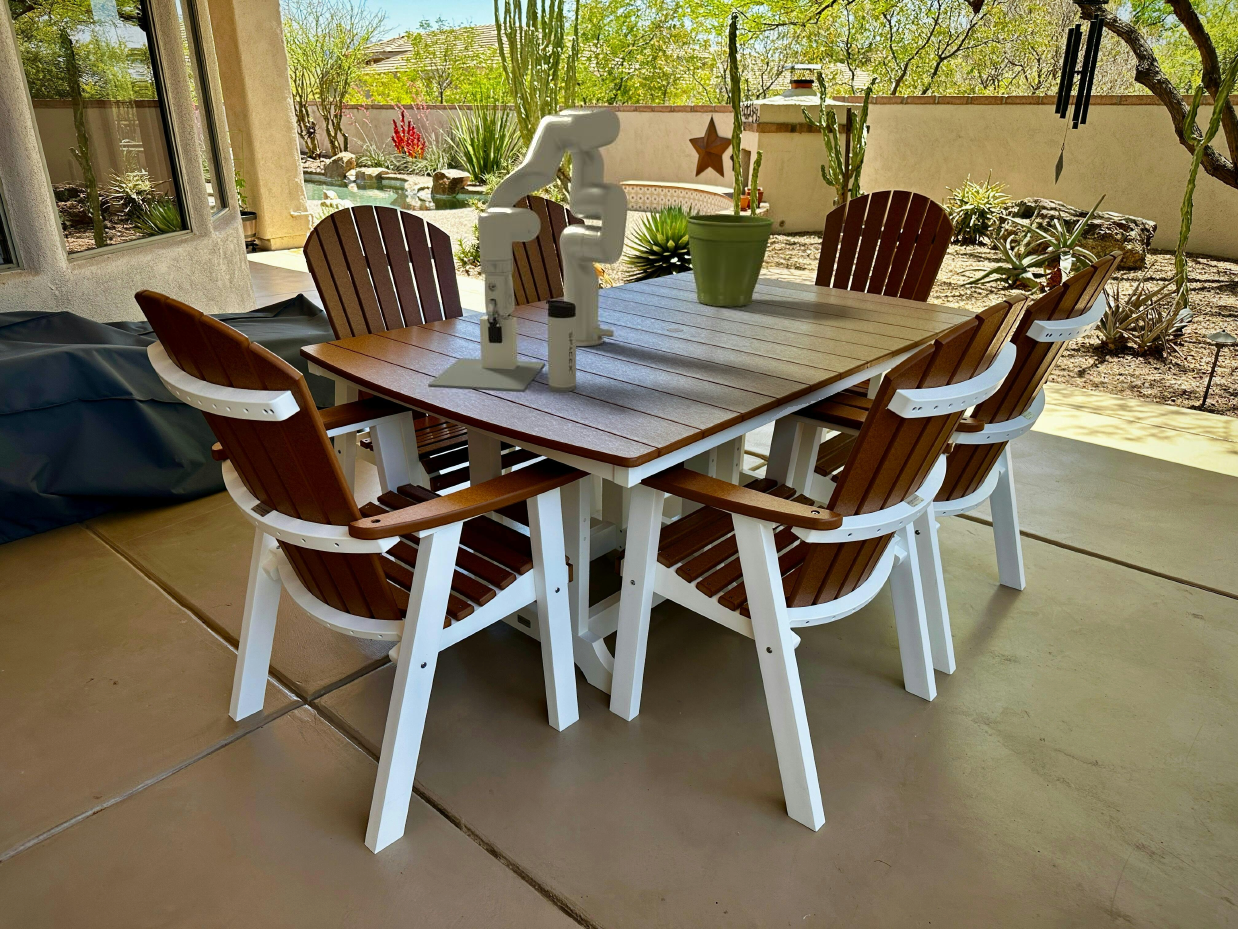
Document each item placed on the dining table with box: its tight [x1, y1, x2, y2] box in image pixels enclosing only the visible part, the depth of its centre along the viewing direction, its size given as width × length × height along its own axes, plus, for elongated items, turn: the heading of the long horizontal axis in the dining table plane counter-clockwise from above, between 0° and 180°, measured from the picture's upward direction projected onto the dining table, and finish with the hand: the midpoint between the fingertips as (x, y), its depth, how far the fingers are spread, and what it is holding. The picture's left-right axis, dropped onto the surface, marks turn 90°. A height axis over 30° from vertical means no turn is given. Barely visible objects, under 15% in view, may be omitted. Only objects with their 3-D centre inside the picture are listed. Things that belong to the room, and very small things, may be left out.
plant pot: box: [685, 214, 775, 307], centre depth 281 cm, size 30×30×29 cm
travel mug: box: [545, 299, 577, 393], centre depth 181 cm, size 6×7×20 cm
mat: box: [428, 357, 546, 392], centre depth 194 cm, size 22×24×1 cm
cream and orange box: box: [479, 315, 519, 369], centre depth 197 cm, size 8×4×12 cm, turn 83°
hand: (500, 337), depth 197 cm, fingers open, 9 cm apart
